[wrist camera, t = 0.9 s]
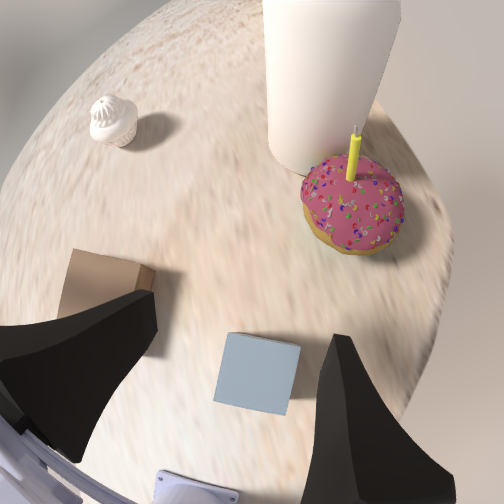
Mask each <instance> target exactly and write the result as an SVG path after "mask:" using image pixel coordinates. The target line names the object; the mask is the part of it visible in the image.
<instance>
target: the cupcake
mask: <svg viewBox="0 0 504 504" xmlns="http://www.w3.org/2000/svg"><path fill="white" fill-rule="evenodd" d="M354 129H355V130H354V134H352V135H351V142H350V150H349V153H348V154H345V153H344V154H335V155H333V156H330V157H329V158H324V159H325V160H324V159H322V160H321V162H320V163H318V164H317V165H316V166H315V167H312V168H311V170H310V171H309V173H308V175H307V176H306V178H305V179H304V181H302V187H301V200H302V202H303V209H304V215H305V218H306V220H307V222H308V224H309V226H310V227H311V229H312V231H313V233H314V234H315V236H316V237H317V238H318V239H320V240H321V241H323V242H324V243H325V244H327V245H329V246H331V247H332V248H334V249H336V250H337V251H338V252H340V253H342V254H348V255H362V256H368V255H372V254H374V253H376V252H378V251H380V250H382V249H384V248H386V247H387V246H388V245H389V244H391V242H392V241H393V240H394V239H395V237H396V236H397V234H398V232H399V230H400V228H401V225H402V223H403V221H404V220H403V216H404V200H403V196H402V191H401V188H400V186H399V183H398V182H396V181H395V177H394V178H393V176H392V175H391V173H390V172H389V170H387V169H384V168H383V167H382V166H381V165H379V162H378V161H373V160H371V159H370V158H369V157H368V156H366V157H365V156H363V155H362V156H361V155H359V152H360V146H361V139H362V137H361V135H360V134H358V128H357V126H356V125H354ZM377 162H378V163H377ZM402 220H403V221H402Z"/></svg>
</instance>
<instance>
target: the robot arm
mask: <svg viewBox="0 0 504 504" xmlns="http://www.w3.org/2000/svg"><path fill="white" fill-rule="evenodd" d="M157 331H158V329H157V320H156V312H155V302H154V292H151V291H147V290H144V289H139V290H136V291H133V292H131V293H128V294H125V295H123V296H120V297H118V298H116V299H113V300H111V301H108V302H106V303H103V304H101V305H98V306H96V307H93V308H90V309H88V310H85V311H82V312H79V313H77V314H74V315H70V316H67V317H63V318H60V319H56V320H51V321H46V322H41V323H35V324H28V325H17V326H0V504H82V503H83V499H82V498H80V497H79V496H77V495H76V494H75V493H73V492H72V491H71V490H69V489H68V488H67V487H65V486H64V485H63V484H62V483H60V482H59V481H58V480H56V479H55V478H54V477H53V476H52V475H50V474H49V473H48V471H47V469H48V468H47V466H48V467H50V468H51V469H52V470H54V471H55V472H56V473H57V474H59V475H60V476H61V477H62V478H64V479H65V480H67V481H68V482H69V483H71V484H72V485H73V486H75V487H76V488H78V489H79V490H81V491H82V492H84V493H85V494H87V495H88V496H90V497H91V498H93V499H95V500H96V501H98V502H99V503H101V504H138V503H135V502H133V501H131V500H129V499H128V498H126V497H124V496H122V495H120V494H118V493H116V492H114V491H113V490H111V489H109V488H107V487H106V486H104V485H102V484H101V483H99V482H97V481H96V480H94V479H93V478H91V477H89V476H88V475H86V474H85V473H83V472H82V471H80V470H79V469H77V468H76V467H74V466H73V465H71V464H70V463H69V462H67V461H66V460H65V459H63V458H62V457H60V456H59V455H58V454H57V453H55V452H54V451H53V450H56V451H57V452H58V453H60V454H61V455H62V456H64V457H65V458H67V459H68V460H69V461H71V462H72V463H80V462H81V461H82V458H83V455H84V452H85V449H86V447H87V444H88V441H89V439H90V437H91V435H92V432H93V430H94V428H95V426H96V424H97V422H98V420H99V418H100V416H101V414H102V412H103V410H104V408H105V407H106V405H107V403H108V401H109V400H110V398H111V396H112V395H113V393H114V391H115V390H116V389H117V387H118V386H119V384H120V383H121V382H122V381H123V379H124V378H125V377H126V376H127V374H128V373H129V372H130V370H131V369H132V368H133V367H134V365H135V364H136V363H137V362H138V360H139V359H140V358H141V357H142V355H143V354H144V353H145V351H146V350H147V349H148V347H149V345H150V344H151V342H152V340H153V339H154V337H155V335H156V333H157ZM48 446H49V447H51V448H52V449H53V450H51V449H50V448H49V447H48ZM160 477H161V478H163V480H162V479H160ZM231 498H235V499H234V500H232V499H231ZM238 499H239V493H238V492H237V491H233V490H228V489H224V488H220V487H216V486H212V485H208V484H204V483H200V482H197V481H193V480H190V479H187V478H184V477H180V476H177V475H174V474H171V473H169V472H166V471H163V470H159V471H158V472H157V474H156V482H155V490H154V498H153V501H152V503H151V504H237V502H238ZM455 503H456V490H455V482H454V477H453V475H452V474H450V473H449V472H448V471H446V470H445V469H444V468H443V467H441V466H440V465H439V464H437V463H436V462H435V461H434V460H433V459H431V458H430V457H429V456H428V455H427V454H426V453H425V452H424V451H423V450H422V449H421V448H420V447H419V446H418V445H417V444H416V443H415V442H414V441H413V440H412V438H411V437H410V436H409V435H408V434H407V433H406V432H405V431H404V429H403V428H402V427H401V426H400V424H399V423H398V422H397V421H396V419H395V418H394V417H393V415H392V414H391V412H390V411H389V409H388V408H387V407H386V405H385V403H384V402H383V400H382V399H381V397H380V395H379V394H378V392H377V390H376V388H375V387H374V385H373V383H372V381H371V379H370V377H369V375H368V373H367V372H366V370H365V368H364V366H363V363H362V361H361V359H360V357H359V355H358V353H357V351H356V348H355V346H354V344H353V341H352V339H351V338H350V336H345V335H339V334H334V335H333V338H332V341H331V343H330V346H329V349H328V352H327V355H326V358H325V360H324V363H323V366H322V369H321V371H320V377H319V384H318V390H317V400H316V419H315V435H314V446H313V454H312V459H311V463H310V468H309V473H308V477H307V481H306V485H305V489H304V493H303V496H302V500H301V503H300V504H455Z"/></svg>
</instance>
